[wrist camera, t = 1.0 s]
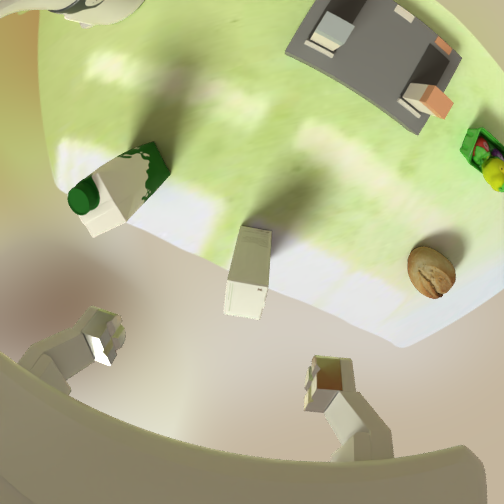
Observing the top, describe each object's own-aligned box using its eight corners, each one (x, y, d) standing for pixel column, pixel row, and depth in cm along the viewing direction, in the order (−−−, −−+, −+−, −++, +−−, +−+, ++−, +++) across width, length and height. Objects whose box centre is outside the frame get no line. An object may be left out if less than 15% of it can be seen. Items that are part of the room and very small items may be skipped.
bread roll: (430, 289, 57) (442, 312, 50) (393, 265, 54) (404, 290, 48) (456, 262, 51) (470, 284, 45) (421, 233, 49) (437, 256, 42)
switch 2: (402, 97, 32) (425, 102, 25) (410, 82, 30) (435, 85, 23) (418, 111, 32) (444, 119, 26) (427, 97, 30) (453, 103, 24)
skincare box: (240, 224, 52) (225, 276, 40) (274, 230, 52) (270, 285, 40) (235, 259, 57) (221, 314, 45) (267, 264, 57) (260, 322, 45)
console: (284, 54, 34) (285, 50, 30) (332, -24, 24) (337, -34, 20) (408, 130, 38) (419, 136, 34) (450, 57, 28) (464, 58, 24)
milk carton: (155, 134, 44) (89, 172, 27) (177, 177, 48) (125, 233, 32) (120, 155, 46) (53, 199, 30) (141, 193, 51) (85, 251, 34)
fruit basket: (499, 147, 35) (532, 167, 25) (484, 182, 40) (515, 207, 30) (465, 119, 34) (502, 134, 25) (450, 158, 39) (483, 181, 30)
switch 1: (309, 39, 29) (316, 28, 22) (319, 24, 27) (327, 11, 21) (332, 51, 29) (344, 43, 23) (341, 36, 28) (354, 26, 21)
